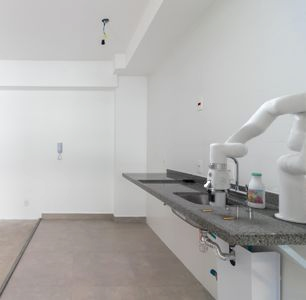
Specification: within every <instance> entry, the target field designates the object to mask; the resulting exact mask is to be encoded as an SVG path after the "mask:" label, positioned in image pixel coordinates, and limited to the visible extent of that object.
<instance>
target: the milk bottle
mask: <svg viewBox="0 0 306 300" xmlns="http://www.w3.org/2000/svg"><path fill="white" fill-rule="evenodd" d="M262 176H263V174H262V173H261V172H251V180H250V182H249V183H248V187H247V206H248V207H249V208H254V209H265V208H266V186H265V184H264V182H263V180H262ZM249 203H250V205H251V206H250V205H249Z"/></svg>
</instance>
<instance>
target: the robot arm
mask: <svg viewBox="0 0 306 300" xmlns="http://www.w3.org/2000/svg"><path fill="white" fill-rule="evenodd" d="M288 114H289V115H290V116H291V118H292V121H293V122H292V127H291V130H290V133H289V136H288V138H287V142H286V146H287V149H289V150H290V151H292V152H297V153H287V154H283V155H281V156H280V157H278V159H277V160H276V169H277V173H278V212H277V213H274V217H275V218H276V219H278V220H282V221H285V222H290V223H296V224H306V91H302V92H295V93H292V94H287V95H281V96H278V97H275V98H272V99H269V100H266V101H265V102H264V103H262V104H261V105H260V107H259V108H258V109H257V110H256V111H255V112H254V113H253V115H251V117H250V118H249V119H248V120H247V121H246V122H245V124H243V125H242V126H241V127H240V128H239V129H237V130H236V131H235V132H234V133H233V134H232V135H230V136H229V138H228V139H227V140H226V141H225V142H213V143H210V145H209V165H208V168H209V169H208V171H207V177H206V184H204V186H203V188H204V190H205V191H206V193H207V195H208V198H207V200H208V202H209V203H210V202H215V195H214V192H215V190H221V191H222V192H226V202H227V194H228V191H229V192H230V190H231V188H232V185H231V182H230V181H231V180H230V173H229V170H228V158H234V159H235V158H237V159H238V158H239V159H241V158H244V157H245V156H246V155H248V152H249V148H248V147H247V145H246V143H247V142H248V141H249V142H250V140H253V139H255V138H256V137H259V136H260V135H262V134H264V133H265V132H266V131H267V129H269V127H270V126H271V125H272V124H273V123H274V122H275V121H276V119H278V117H279V116H283V115H288ZM229 189H230V190H229Z"/></svg>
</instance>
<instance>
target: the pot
mask: <svg viewBox="0 0 306 300" xmlns="http://www.w3.org/2000/svg"><path fill="white" fill-rule="evenodd" d="M214 195H215V202H210V201H209V206H212V207H217V208H226V205H227V204H226V192H222V191H215V192H214Z"/></svg>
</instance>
